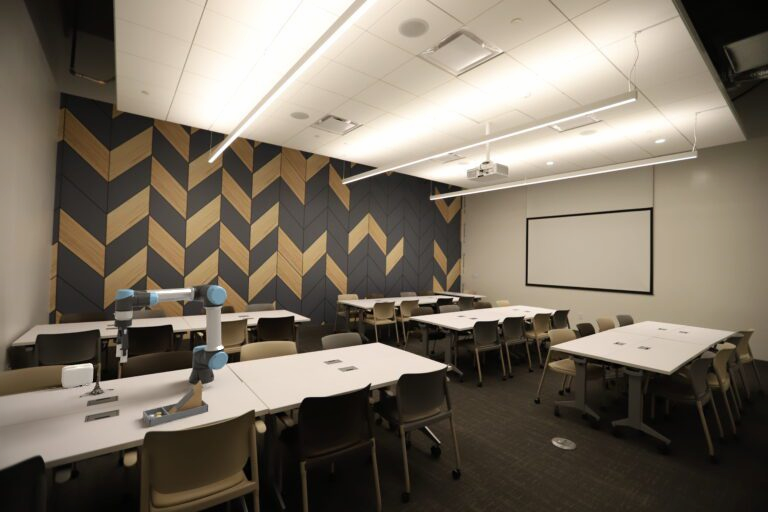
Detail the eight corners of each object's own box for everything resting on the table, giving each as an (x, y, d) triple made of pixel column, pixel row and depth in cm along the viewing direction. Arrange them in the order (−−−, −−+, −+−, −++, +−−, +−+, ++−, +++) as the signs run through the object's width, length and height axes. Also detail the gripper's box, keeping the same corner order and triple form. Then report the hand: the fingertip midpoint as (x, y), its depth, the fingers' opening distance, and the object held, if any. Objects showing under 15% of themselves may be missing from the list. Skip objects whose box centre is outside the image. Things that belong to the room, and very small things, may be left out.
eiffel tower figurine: (114, 389, 219) (115, 367, 219) (111, 395, 210) (112, 372, 210) (83, 393, 212) (84, 370, 212) (78, 399, 203) (79, 375, 203)
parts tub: (199, 404, 200) (199, 397, 200) (208, 411, 191) (208, 404, 191) (142, 418, 181) (143, 411, 181) (149, 426, 172) (149, 419, 172)
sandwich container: (166, 412, 188) (168, 384, 188) (199, 407, 196) (200, 379, 197) (167, 419, 181) (168, 389, 181) (201, 413, 189) (202, 384, 190)
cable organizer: (60, 389, 214) (61, 370, 214) (61, 384, 222) (62, 366, 222) (92, 384, 224) (93, 366, 224) (92, 380, 232) (93, 362, 232)
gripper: (111, 316, 194) (109, 355, 194) (118, 323, 176) (116, 365, 176) (127, 315, 200) (125, 353, 199) (136, 321, 182) (134, 363, 181)
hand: (121, 359), depth 187 cm, fingers open, 13 cm apart
